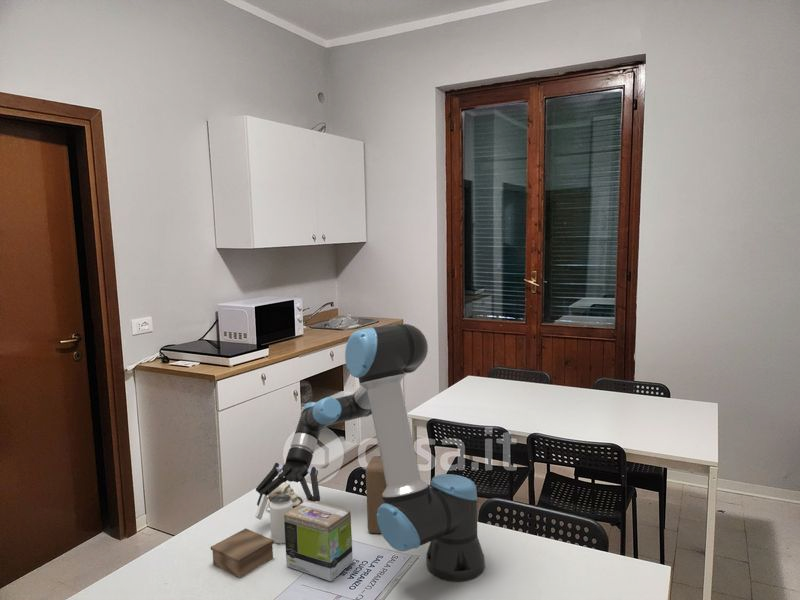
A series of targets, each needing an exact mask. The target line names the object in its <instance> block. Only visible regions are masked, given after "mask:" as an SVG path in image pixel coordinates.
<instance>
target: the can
mask: <svg viewBox="0 0 800 600" xmlns="http://www.w3.org/2000/svg"><path fill="white" fill-rule="evenodd" d="M269 506H270V512H269V519H270V520H269V521H270V539H272V540H274V543H273V544H278V545H281V544H285V526H284V514H285V513H287V512H288V511H290V510H292V509H293V504H292V500H291V497H290V496H289V495H286V494H280V495H276V496H274V497H272V498H271V502H270V501H269Z"/></svg>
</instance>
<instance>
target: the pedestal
mask: <svg viewBox="0 0 800 600" xmlns="http://www.w3.org/2000/svg"><path fill="white" fill-rule="evenodd" d="M274 544H275V543H274V540H272V539H271V537H267V536H265V535H262V534H260V533H258V532H255V531H253V530H250V529H248V528H243V529H241V530H240V531H238V532H236V533H234V534H232V535H230V536H229V537H227V538H225V539H223V540H221V541H219V542H217V543H216V544H214V545H211V546H210V550H211V552H212V562H213V563H212V564H213V566H216V567H217V568H220V569H221V570H223V571H225V572H227V573H229V574H231V575H233V576H235V577H236V578H239V579H241V578H242V577H244V576H246V575H248V574H250V573H251V572H253V571H254V570H256V569H258V568H259V567H261V566H262V565H264V564H266V563H267V562H269V561H271V560H272V559H274V551H273V550H274V547H273V545H274Z"/></svg>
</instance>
